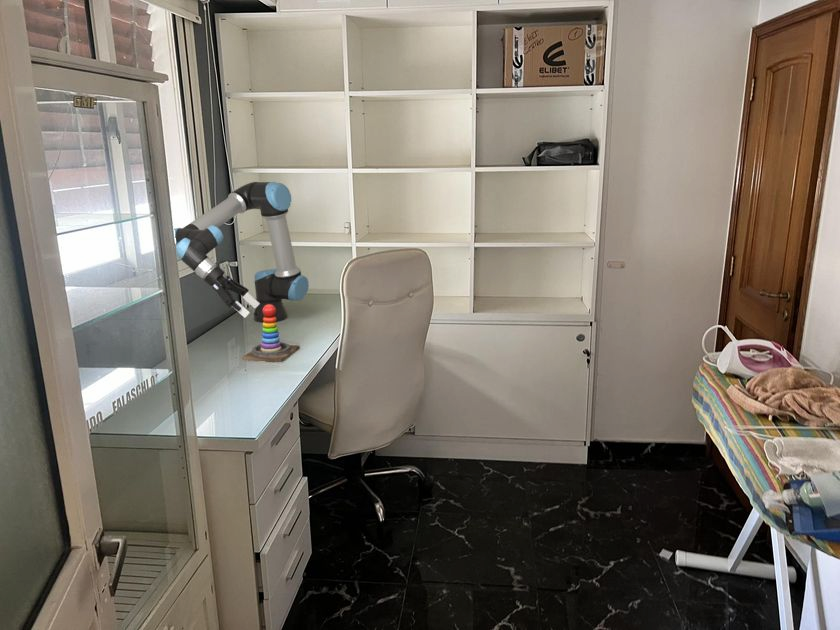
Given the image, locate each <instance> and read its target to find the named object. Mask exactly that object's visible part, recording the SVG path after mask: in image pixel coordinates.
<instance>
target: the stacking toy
mask: <svg viewBox="0 0 840 630" xmlns="http://www.w3.org/2000/svg"><path fill="white" fill-rule="evenodd" d="M275 313H276V308H275V307H274V306H273V305H271V304H268V305H265V306H264V308H263V314H264V315H265V317H264V318H263V321H264V322H262V329H261V330H262V333H261V336H262V337H261V342H260V344H261V352H266V353H270V352H278V351H281V349H282V348H281V346H280V344H281V343H280V342H281V338H280V336H279V335H280V332H279V327H278V323H277V322H278V321H276V317H275V316H274V315H275Z"/></svg>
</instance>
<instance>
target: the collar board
mask: <svg viewBox="0 0 840 630" xmlns="http://www.w3.org/2000/svg"><path fill="white" fill-rule="evenodd" d="M280 343H281V344H280V346H281V348H282V349H281V351H278V352H270V353H266V352H261V343H260V344H256V345H255V346H254V347H252V350H251V351H249V352H248V353H246V354H245V355H243V356H242V357H241V361H243V360H252V361H251V362H259V361H265V362H264V363H275V362H282V361H283V362H284V361H286V360H287V359H288V358H289V357H291V356H292V355H293V354H295V353H296V352H297V351H299V350H300V349H301V345H299V344H289V343H286V342H281V341H280ZM290 355H291V356H290ZM286 358H287V359H286ZM253 360H254V361H253ZM283 362H282V363H283Z"/></svg>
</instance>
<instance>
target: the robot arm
mask: <svg viewBox="0 0 840 630" xmlns="http://www.w3.org/2000/svg"><path fill="white" fill-rule="evenodd" d="M291 202H292V195H291V192H290V190H289V188H288V187H287V186H286V185H285V184H283V183H282V182H276V181H252V182H249V183H246V184H244V185H241V186H239V188H237V189H235V190H234V191H231V192H230V193H229V194H228V196H227V198H225V200H223V201H221V202H220V203H218V204H217V205H216V206H214V207H212V208H211V209H209V210H208V211H206V212H204V213H203V214H202V215H200V216H199V217H197V218H195V220H193V221H191V222H190V223H188V224H187V225H186V226H183V227H176V228H173V229H174V230H175V238H176V248H177V258H178V259H179V260H180V261H182V262H183V263H184V264H185V265H186V266H187V267H189V268H190V270H192V271H193V272H195V274H196V276H198V277H200V278H201V279H204V282H205V283H206V284H207V285H209V286H210V287H212V289H213V290H214V291H215V292H216V294H218V296H219V297H220V299H221V300H222V302H223V303H224V304H225V306H227V307H228V308H231V307H232V308H233V309H234V310H235V311H237V312H238V314H240V316H242V317H243V318H244V319H246V318H247V316H248V315H249V314H250V313H251V312H250V311H249V310H248V309H247V308H246V307H244V306H243V304H241V303H240V302H239V301H238V300H235V298H234V296H233V294H232V293H231V292H234V293H235V294H237V295H240V296H242V299H244V300H245V301H246V302H247V303H248V304H249V305H250V306H252V307H253V309H254V312H253V320H254V321H255V322H259V323H263V322H264V321H263V318H264V317H265V315H264V314H263V308H264V306H265V305H268V304H271V305H273V306H274V307H275V308H276V313H275V315H274V316H275V317H276V321H275V322H279V320H280V321H284V320H286V319H287V318H288V317H287V311H286V308H285V305H284V302H283V300H287V301H300V300H303V299H304V298H305V297H306V295H307V293H308V291H309V286H310V285H309V283H310V282H309V280H308V277H306V276H305V275H303V274H302V271H301V268H300V267H298V266H297V264H296V260H295V255H294V250H293V245H292V240H291V236H290V231H289V230H290V229H289V224H288V221H287V216H286V215H287V214H288V213H289V209H290V207H291V205H292V203H291ZM250 210H259V212H260V214H261V217H262V218H263V219H265V221H266V225H267V229H268V234H269V239H270V244H271V248H272V253H273V257H274V261H275V266H276V268H271V269H264V270H259V271H257V272H255V273H254V289H255V298H254V297H253V296H252V295H251V294H250V292H249V291H250V289H248V288H247V287H245V286H244V285H242V284H240V283H239V282H238V281H236V280H234V279H233V278H232V277H231V276H229V275H226V276H224V275H225V271H224V270H223V269H222V268H221V267H220V266H217V264H216V263H215V261H214V260H213V259H211V257H209V256H208V254H209V253H210V252H211V251H213V250H214V249H215V248H216V247H218V246H219V245H220V244H221V243H222V242H223V240H224V234H223V231H222V230H221V229H220V228H219V227H221V226H222V225H223V224H225V223H227V222H228V221H229V220H231V219H232V218H233V217H235V216H236V215H238V214H243V213H245V212H246V211H250ZM286 317H287V318H286ZM285 318H286V319H285ZM283 319H284V320H283Z"/></svg>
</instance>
